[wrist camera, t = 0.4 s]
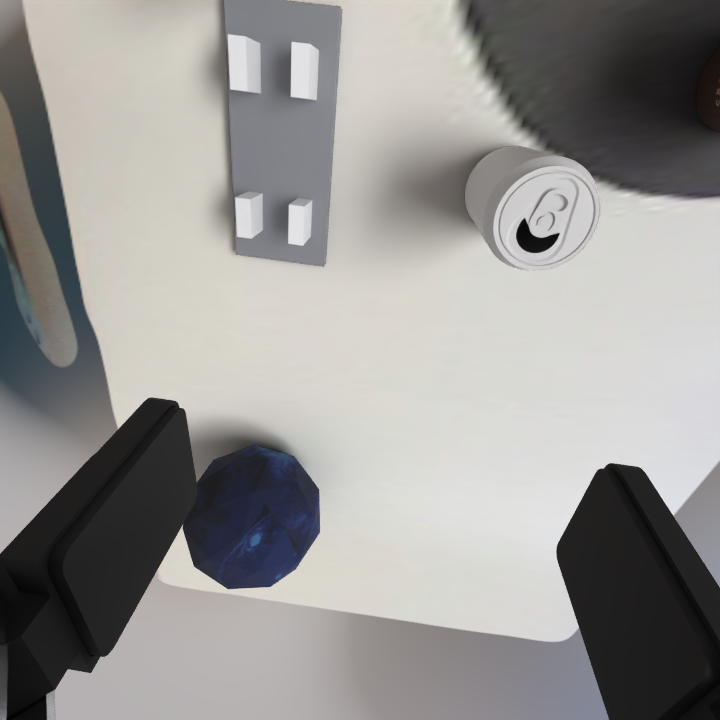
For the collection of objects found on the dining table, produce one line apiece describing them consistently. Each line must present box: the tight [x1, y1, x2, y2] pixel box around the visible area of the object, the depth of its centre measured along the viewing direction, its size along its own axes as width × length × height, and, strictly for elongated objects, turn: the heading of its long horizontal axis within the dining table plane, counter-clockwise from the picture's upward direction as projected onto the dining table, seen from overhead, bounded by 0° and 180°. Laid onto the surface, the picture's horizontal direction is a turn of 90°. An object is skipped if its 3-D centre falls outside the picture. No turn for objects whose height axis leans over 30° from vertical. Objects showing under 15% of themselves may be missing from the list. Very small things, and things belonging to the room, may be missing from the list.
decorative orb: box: [183, 445, 320, 589], centre depth 46 cm, size 14×15×15 cm
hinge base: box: [224, 0, 342, 267], centre depth 32 cm, size 18×8×4 cm, turn 174°
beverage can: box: [465, 146, 601, 270], centre depth 28 cm, size 6×6×12 cm
